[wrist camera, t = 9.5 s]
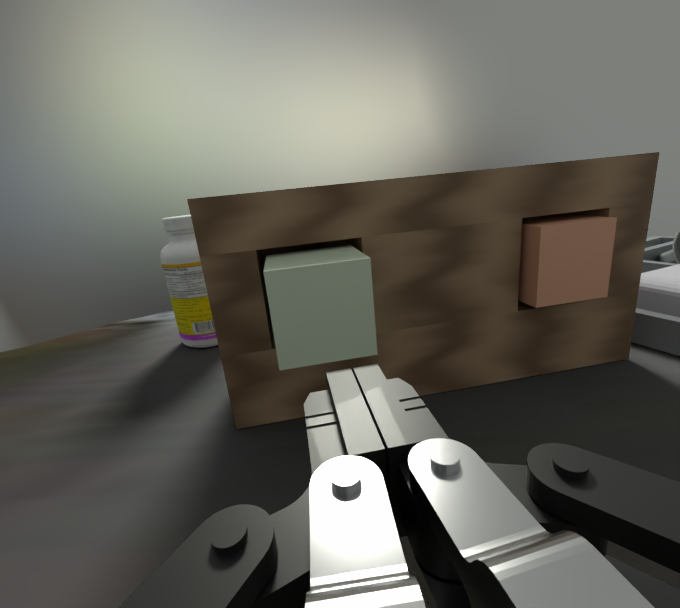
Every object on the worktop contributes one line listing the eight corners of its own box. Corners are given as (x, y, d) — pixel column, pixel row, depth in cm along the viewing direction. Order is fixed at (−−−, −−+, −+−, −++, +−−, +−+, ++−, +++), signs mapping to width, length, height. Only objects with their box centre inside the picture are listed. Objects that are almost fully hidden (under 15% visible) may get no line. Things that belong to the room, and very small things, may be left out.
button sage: (279, 370, 18) (263, 271, 17) (279, 334, 23) (266, 254, 21) (377, 354, 19) (370, 258, 17) (357, 322, 23) (350, 244, 22)
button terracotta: (536, 307, 23) (541, 226, 21) (491, 288, 28) (493, 221, 26) (607, 296, 23) (616, 217, 22) (552, 280, 28) (557, 213, 27)
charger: (618, 294, 40) (830, 339, 27) (556, 310, 38) (758, 370, 24) (624, 252, 39) (850, 276, 26) (560, 265, 36) (777, 301, 23)
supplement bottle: (218, 323, 44) (195, 213, 40) (258, 329, 40) (237, 210, 36) (168, 345, 38) (136, 220, 35) (209, 354, 35) (179, 217, 31)
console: (236, 429, 23) (187, 199, 19) (246, 371, 31) (213, 198, 26) (628, 358, 27) (659, 152, 22) (550, 322, 34) (562, 163, 30)
